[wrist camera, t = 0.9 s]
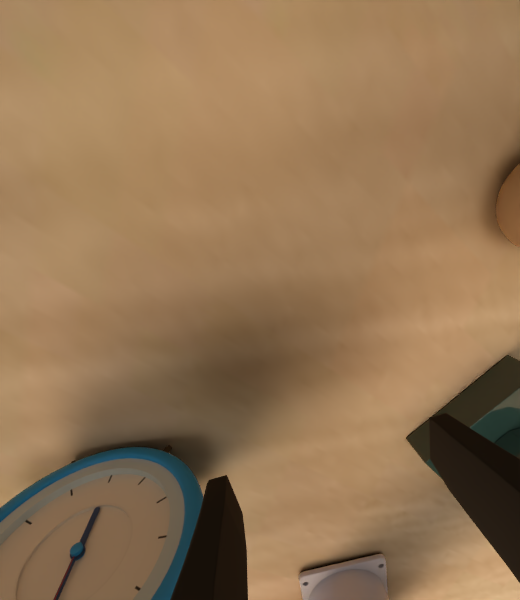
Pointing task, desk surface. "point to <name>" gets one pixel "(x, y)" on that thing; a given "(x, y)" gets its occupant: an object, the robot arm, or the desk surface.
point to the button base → (483, 410)
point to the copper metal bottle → (510, 207)
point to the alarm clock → (101, 529)
